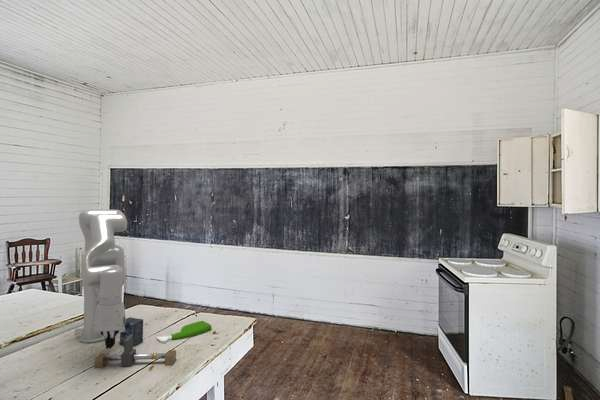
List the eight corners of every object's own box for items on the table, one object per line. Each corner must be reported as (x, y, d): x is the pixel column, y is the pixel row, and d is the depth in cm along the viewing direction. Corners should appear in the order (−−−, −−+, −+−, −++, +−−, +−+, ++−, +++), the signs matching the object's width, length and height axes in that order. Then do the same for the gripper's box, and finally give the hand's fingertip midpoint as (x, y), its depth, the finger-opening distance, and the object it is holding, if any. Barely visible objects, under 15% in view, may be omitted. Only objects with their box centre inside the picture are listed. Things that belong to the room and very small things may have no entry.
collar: (119, 366, 124) (120, 341, 124) (126, 359, 130) (126, 334, 130) (130, 366, 125) (131, 340, 125) (136, 358, 131) (137, 334, 131)
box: (119, 344, 144) (119, 321, 144) (129, 339, 149) (130, 316, 149) (133, 347, 142) (133, 323, 142) (143, 342, 147) (143, 319, 147)
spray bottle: (213, 331, 162) (165, 347, 144) (201, 325, 169) (154, 340, 151) (213, 325, 162) (165, 341, 144) (201, 319, 169) (154, 333, 151)
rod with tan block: (89, 373, 120) (89, 363, 120) (104, 357, 132) (104, 348, 132) (170, 369, 124) (170, 359, 124) (178, 354, 136) (178, 345, 136)
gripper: (85, 303, 122) (84, 352, 122) (127, 302, 124) (126, 350, 124) (95, 298, 129) (94, 343, 129) (134, 297, 131) (133, 342, 131)
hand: (110, 347), depth 126 cm, fingers closed
